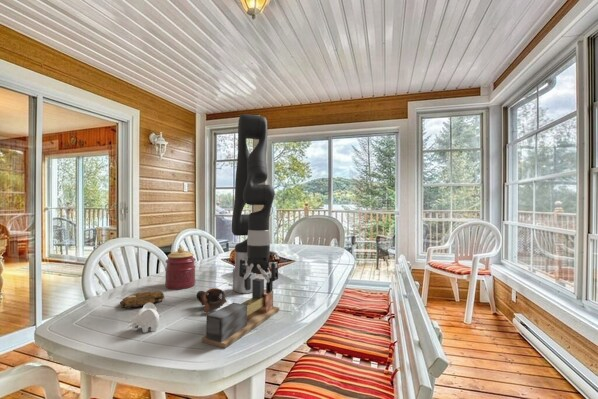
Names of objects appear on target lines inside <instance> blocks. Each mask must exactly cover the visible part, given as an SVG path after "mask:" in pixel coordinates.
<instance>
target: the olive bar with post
mask: <svg viewBox="0 0 598 399" xmlns="http://www.w3.org/2000/svg"><path fill="white" fill-rule="evenodd" d="M264 289H265V278H257V277H256V279H254V280H253V281H252V292H251V293H252V295H251V296H252V297H251V298H249V299H248V300H245V301H244V302H242V303H240V304H245V305H247V316H248V315H249V314H251V313H253V312H254V311H256V310H258V309H259V308H261V307H263V306H264V305H265V296H264Z"/></svg>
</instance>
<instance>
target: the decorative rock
mask: <svg viewBox="0 0 598 399" xmlns="http://www.w3.org/2000/svg"><path fill="white" fill-rule="evenodd" d="M165 299H166V298H165V294H164V292H162V291H160V290H159V291H141V292H136V293H131V294H130V295H128V296H126V297H123V299H122V300H121V301H119V303H120V305H119V307H121V308H125V309H127V307H128V309H131V308H140V307H142V306H144V305H145V304H147V303H149V302H150V303H153V304H156V303H157V304H158V303H162V302H163V300H165Z"/></svg>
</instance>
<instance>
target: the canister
mask: <svg viewBox="0 0 598 399" xmlns="http://www.w3.org/2000/svg"><path fill="white" fill-rule="evenodd" d="M184 249H185V248H183V247H181V246H180V247H178V248H177V251H176V250H175V251H172V252H170V253H169V254H168V255H167V259H166V260H165V264H166V266H165V268H164V270H165V282H164V285H165V288H166V289H168V290H185V289H189V288H192V287H194V286H195V284H196V264H195V261H196V258H195V257H194V253H193V252H191V251H189V250H184Z"/></svg>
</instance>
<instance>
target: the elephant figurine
mask: <svg viewBox="0 0 598 399" xmlns="http://www.w3.org/2000/svg"><path fill="white" fill-rule="evenodd" d="M142 306H143V307H142V308H140V309H139V310H138V311H137V313H136V315H135V317H134V318H133V319H132V320H131V321H130V322H129V323H128V324H130V325H129V326H128V327H127V329H129V328H132V330H133V331H137V330H138V329H139V327H140V328H141V329H142V332H143V333H148V332H149V328H150V331H151V332H156V331H157V330H158V328H159V326H160V318H161V317H162V316H163V315H164V313H162V314H159V312H158V311H157V310H158V308H157V306H156V305H155V303H150V302H149V303H147V304H145V305H142Z"/></svg>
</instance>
